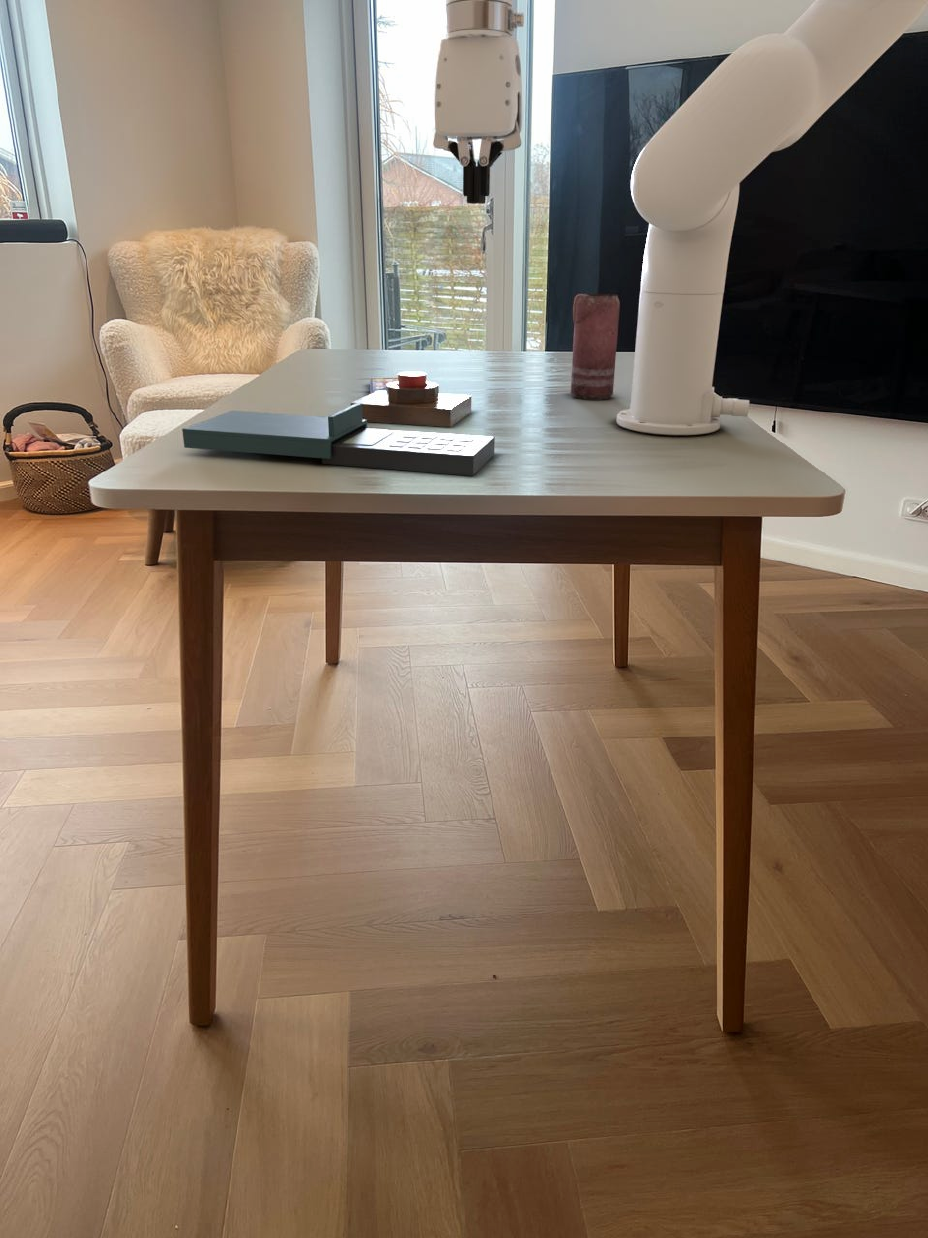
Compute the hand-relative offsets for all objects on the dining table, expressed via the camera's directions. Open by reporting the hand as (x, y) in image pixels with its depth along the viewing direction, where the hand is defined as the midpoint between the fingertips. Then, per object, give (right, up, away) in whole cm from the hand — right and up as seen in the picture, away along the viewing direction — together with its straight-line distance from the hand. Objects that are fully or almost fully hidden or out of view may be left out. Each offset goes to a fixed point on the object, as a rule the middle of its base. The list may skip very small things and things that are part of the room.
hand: (476, 202), depth 108 cm
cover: (-22, -33, -13) cm, 42 cm away
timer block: (-8, -25, +5) cm, 27 cm away
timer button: (-8, -22, +3) cm, 24 cm away
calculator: (-7, -35, -16) cm, 39 cm away
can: (+17, -19, +19) cm, 32 cm away
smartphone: (-12, -18, +21) cm, 30 cm away
